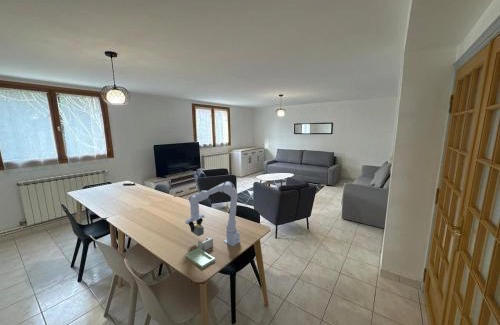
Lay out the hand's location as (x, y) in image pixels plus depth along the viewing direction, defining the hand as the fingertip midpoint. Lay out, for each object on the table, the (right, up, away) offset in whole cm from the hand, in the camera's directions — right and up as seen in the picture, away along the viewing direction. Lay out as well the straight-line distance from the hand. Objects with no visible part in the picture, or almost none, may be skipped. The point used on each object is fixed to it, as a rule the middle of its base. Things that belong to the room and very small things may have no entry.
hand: (195, 229), depth 144 cm
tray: (+8, -12, -18) cm, 23 cm away
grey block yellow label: (+1, -2, -1) cm, 2 cm away
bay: (+9, -10, -6) cm, 14 cm away
